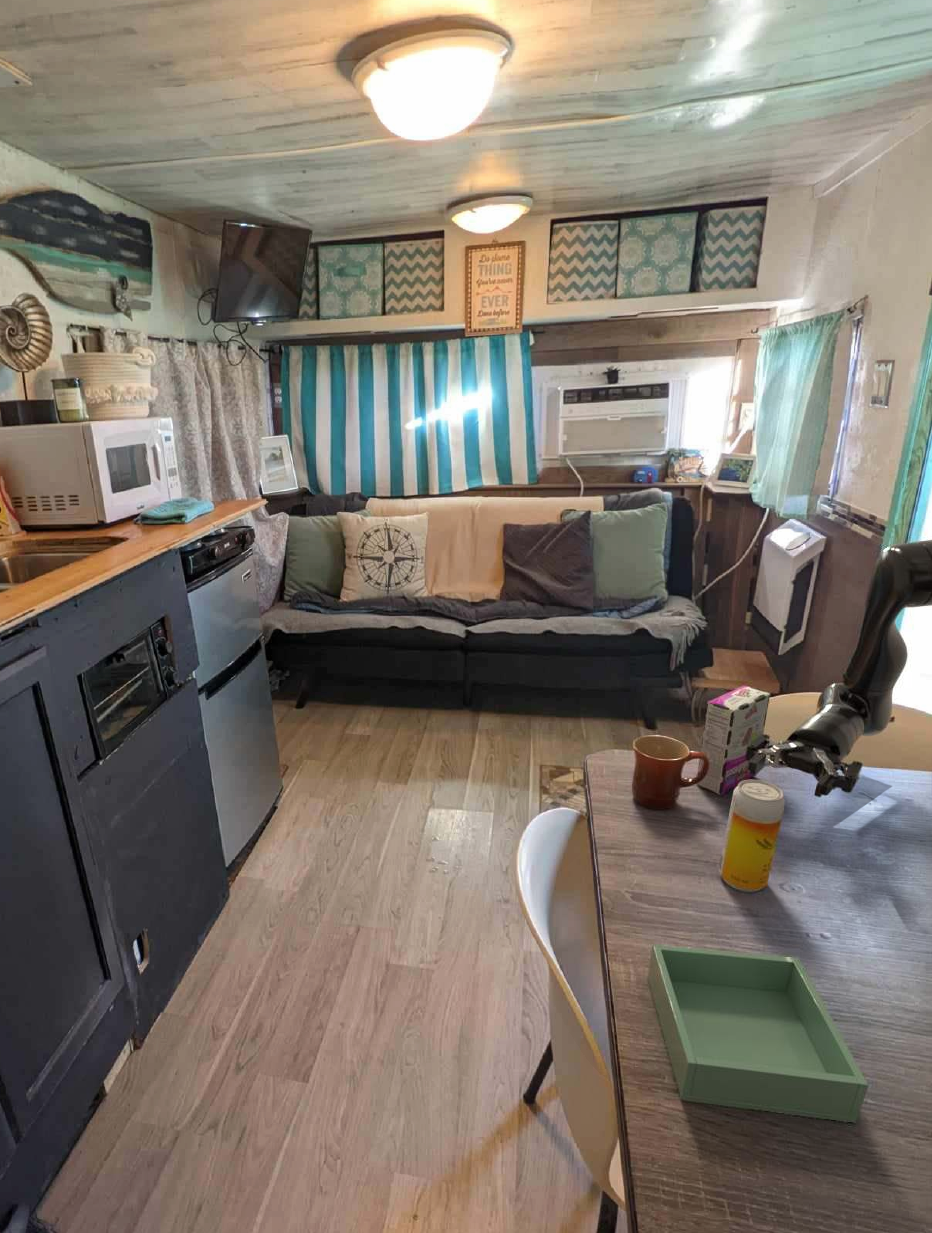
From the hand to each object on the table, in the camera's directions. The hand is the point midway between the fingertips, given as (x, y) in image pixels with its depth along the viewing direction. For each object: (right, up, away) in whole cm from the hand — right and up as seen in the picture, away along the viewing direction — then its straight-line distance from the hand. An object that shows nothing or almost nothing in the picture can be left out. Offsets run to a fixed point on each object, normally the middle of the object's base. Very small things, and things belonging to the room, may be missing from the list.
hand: (784, 779), depth 100 cm
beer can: (-7, -14, -2) cm, 16 cm away
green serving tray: (-21, -24, -26) cm, 41 cm away
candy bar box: (+4, -4, +22) cm, 23 cm away
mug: (-10, -7, +17) cm, 21 cm away
